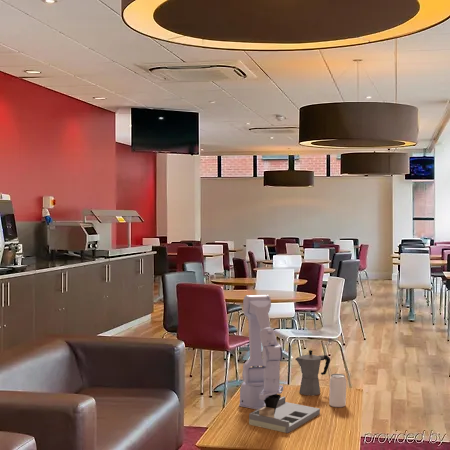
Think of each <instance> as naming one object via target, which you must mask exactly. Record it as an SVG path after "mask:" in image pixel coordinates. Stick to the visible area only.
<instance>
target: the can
mask: <svg viewBox="0 0 450 450" xmlns="http://www.w3.org/2000/svg"><path fill="white" fill-rule="evenodd" d="M328 395H329V399H328V401H329V403H328V404H329V405H330V407H333V408H344V407H345V406H346V405H347V402H346V401H347V379H346V374H343V373H332V374H330V378H329V394H328Z"/></svg>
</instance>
